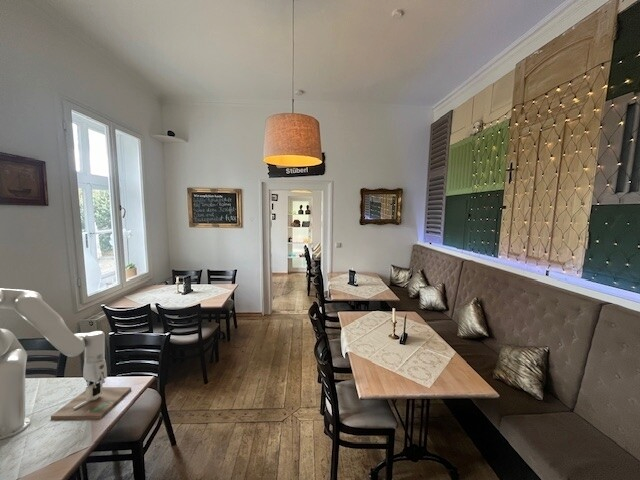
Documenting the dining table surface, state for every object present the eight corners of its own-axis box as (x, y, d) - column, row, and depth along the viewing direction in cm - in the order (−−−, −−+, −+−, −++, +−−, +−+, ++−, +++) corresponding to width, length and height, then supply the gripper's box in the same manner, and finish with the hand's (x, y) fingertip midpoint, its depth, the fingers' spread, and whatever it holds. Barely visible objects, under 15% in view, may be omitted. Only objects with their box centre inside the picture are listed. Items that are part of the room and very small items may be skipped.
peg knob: (98, 394, 136) (98, 380, 135) (102, 395, 135) (103, 382, 134) (71, 408, 125) (71, 393, 124) (76, 410, 124) (76, 395, 123)
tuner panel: (100, 419, 121) (100, 415, 121) (50, 419, 120) (50, 415, 120) (131, 390, 143) (131, 387, 143) (89, 389, 142) (89, 386, 142)
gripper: (114, 356, 133) (114, 392, 134) (91, 351, 137) (90, 386, 138) (98, 363, 126) (97, 402, 126) (74, 357, 130) (73, 394, 131)
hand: (94, 393), depth 132 cm, fingers closed on peg knob, 2 cm apart
